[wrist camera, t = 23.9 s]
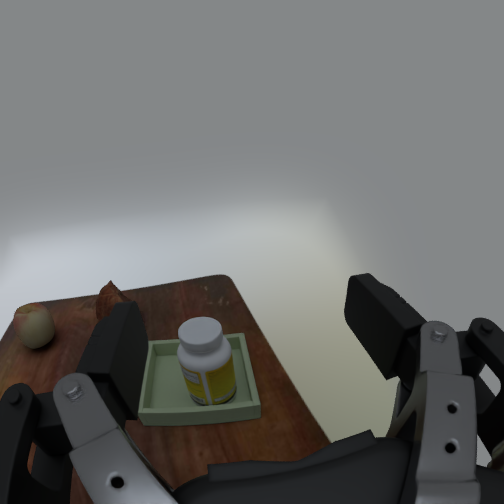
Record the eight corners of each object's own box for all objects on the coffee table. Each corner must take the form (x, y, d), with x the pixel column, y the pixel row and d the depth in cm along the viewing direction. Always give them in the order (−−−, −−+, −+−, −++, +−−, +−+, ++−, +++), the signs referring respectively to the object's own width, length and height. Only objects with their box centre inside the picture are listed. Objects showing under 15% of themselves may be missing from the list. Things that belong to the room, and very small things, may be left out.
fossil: (98, 287, 52) (105, 256, 47) (134, 296, 56) (145, 266, 51) (91, 338, 43) (94, 310, 38) (132, 346, 47) (142, 321, 42)
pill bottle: (236, 375, 35) (229, 311, 30) (237, 410, 29) (229, 347, 25) (192, 376, 34) (176, 313, 30) (187, 411, 29) (166, 349, 24)
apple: (21, 342, 37) (5, 309, 34) (52, 324, 44) (38, 291, 41) (32, 363, 33) (12, 327, 30) (67, 341, 40) (51, 305, 37)
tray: (244, 347, 41) (243, 332, 40) (261, 417, 28) (260, 404, 27) (153, 355, 39) (148, 340, 38) (144, 425, 27) (135, 412, 25)
